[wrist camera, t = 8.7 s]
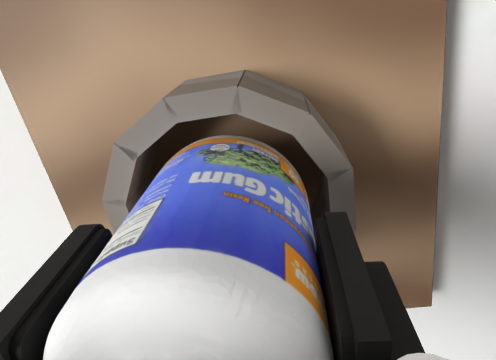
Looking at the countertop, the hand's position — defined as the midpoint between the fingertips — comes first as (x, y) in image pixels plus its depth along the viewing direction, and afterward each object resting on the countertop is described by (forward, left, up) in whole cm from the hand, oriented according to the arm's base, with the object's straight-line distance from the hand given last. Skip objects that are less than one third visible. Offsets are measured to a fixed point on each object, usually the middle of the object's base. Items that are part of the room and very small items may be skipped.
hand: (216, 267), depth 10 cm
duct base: (0, 0, -7) cm, 7 cm away
